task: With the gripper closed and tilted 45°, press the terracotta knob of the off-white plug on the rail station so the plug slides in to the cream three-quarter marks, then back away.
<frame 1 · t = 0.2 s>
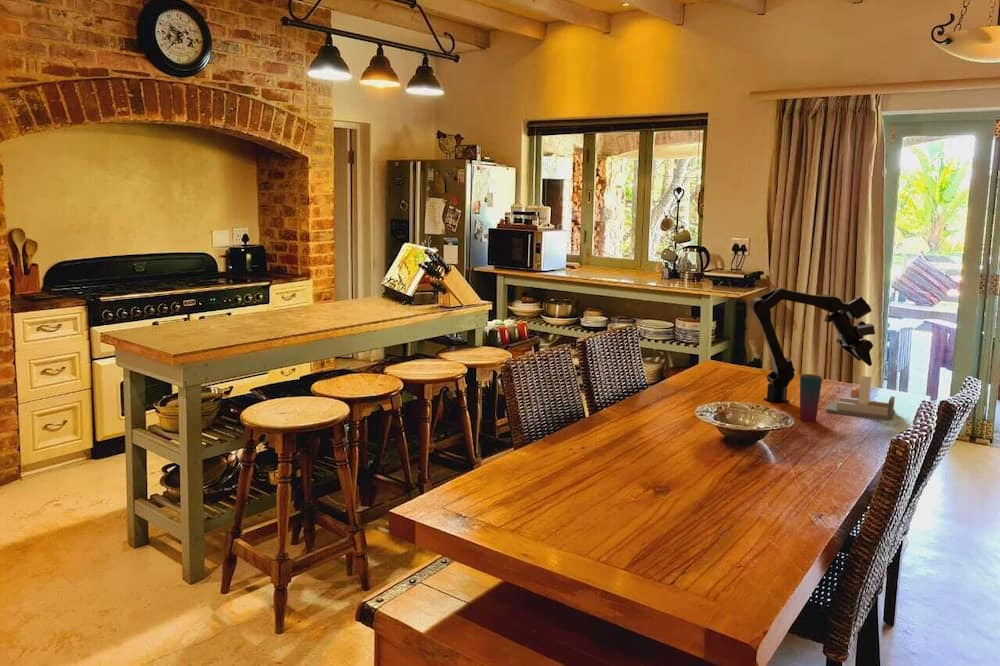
hand: (865, 362, 275), 15 cm above the table, tool tilted 35°, fingers open, 9 cm apart
cup: (807, 420, 255), on the table
plug: (860, 393, 264), point 7 cm above the table, slide at 0.0 cm
station: (860, 412, 265), on the table
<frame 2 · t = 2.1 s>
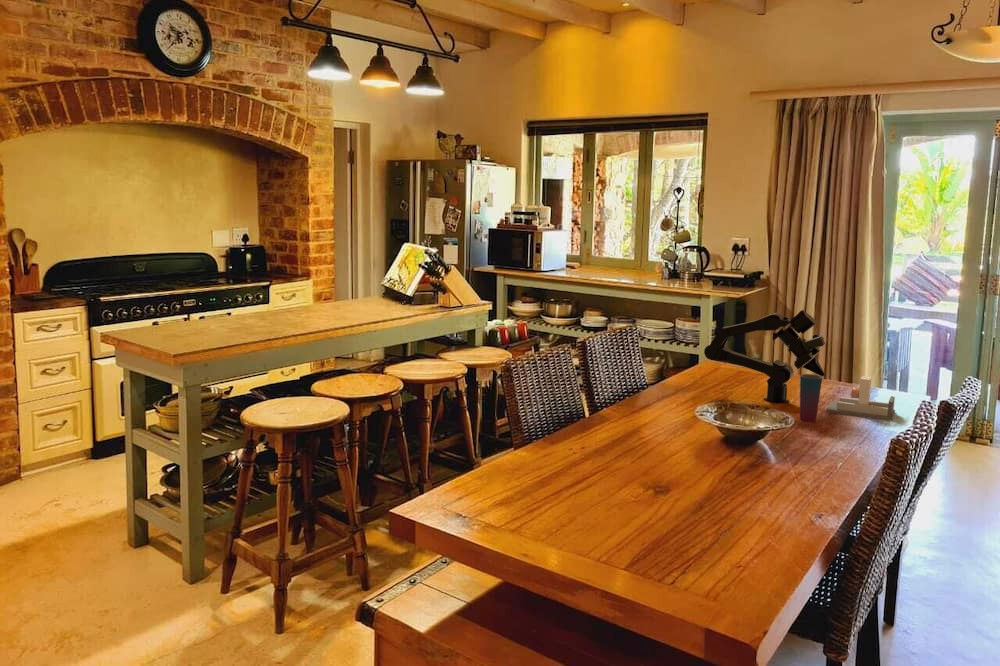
hand: (823, 375, 269), 11 cm above the table, tool tilted 45°, fingers closed
nothing on the table moved.
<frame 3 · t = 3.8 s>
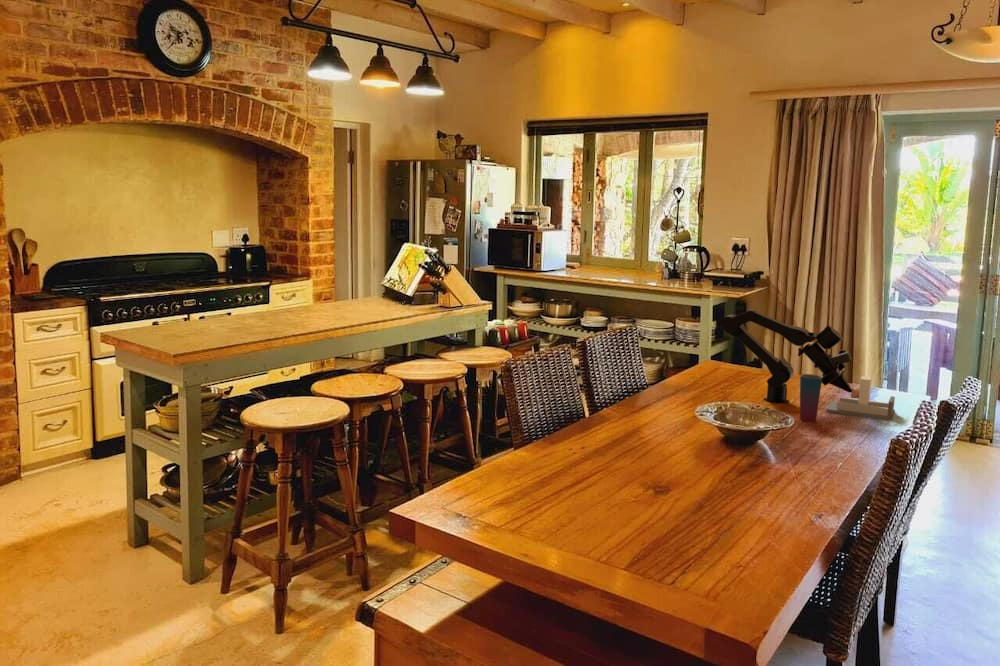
hand: (851, 391, 266), 7 cm above the table, tool tilted 45°, fingers closed, pressing on plug
plug: (860, 393, 264), point 7 cm above the table, slide at 0.0 cm, touching gripper
everything else where it was.
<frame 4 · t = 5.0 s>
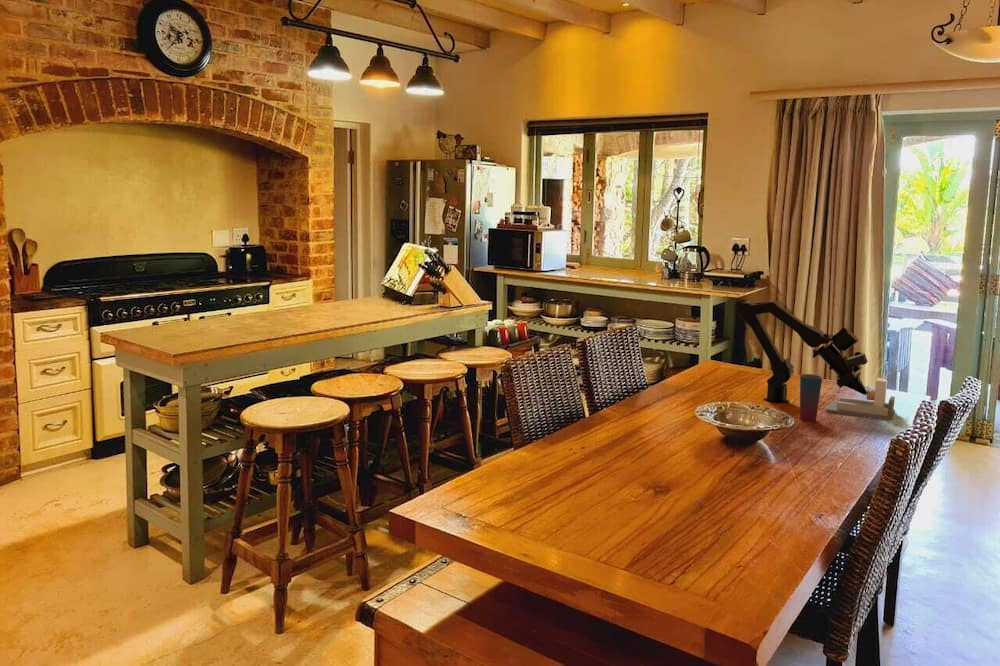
hand: (866, 394, 263), 7 cm above the table, tool tilted 45°, fingers closed, pressing on plug
plug: (876, 394, 261), point 7 cm above the table, slide at 4.9 cm, touching gripper
everything else where it was.
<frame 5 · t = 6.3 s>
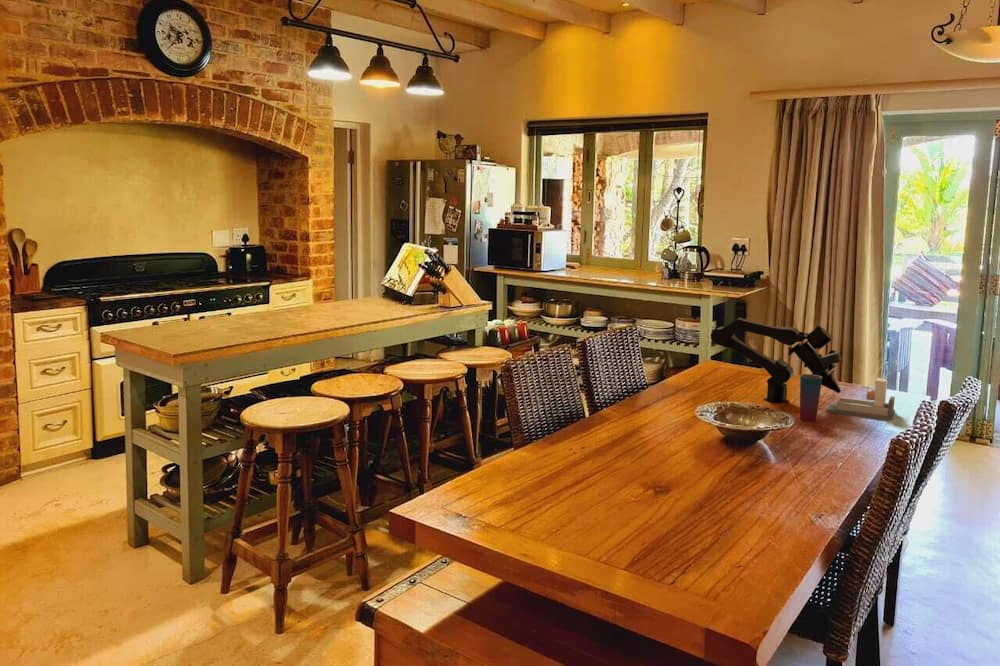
hand: (839, 391, 267), 6 cm above the table, tool tilted 45°, fingers closed
plug: (876, 394, 261), point 7 cm above the table, slide at 4.9 cm
everything else where it was.
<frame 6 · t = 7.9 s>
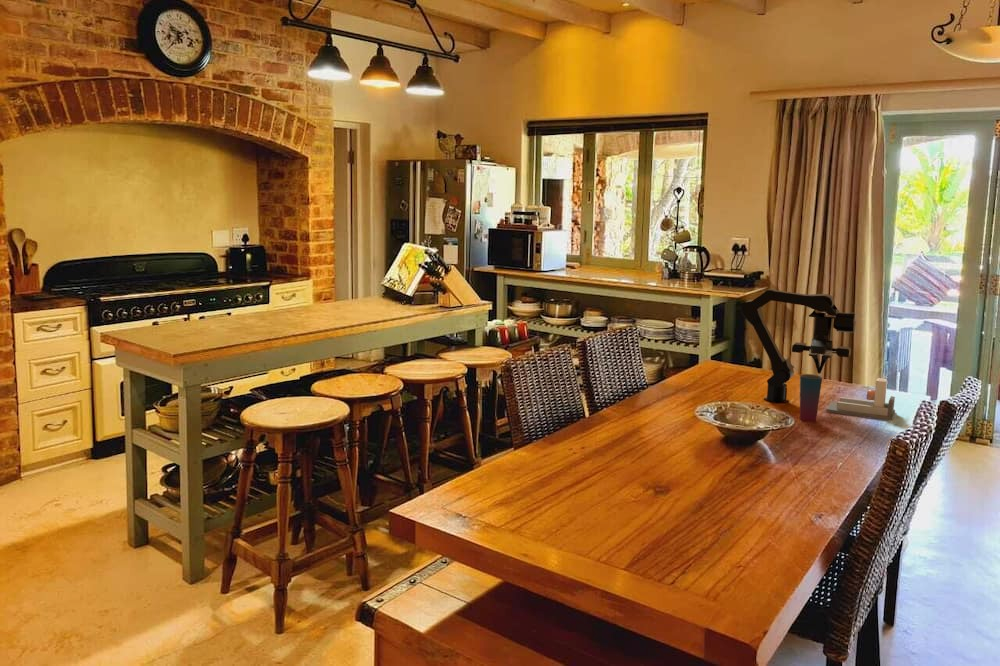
hand: (819, 373, 270), 12 cm above the table, tool pointing down, fingers closed
nothing on the table moved.
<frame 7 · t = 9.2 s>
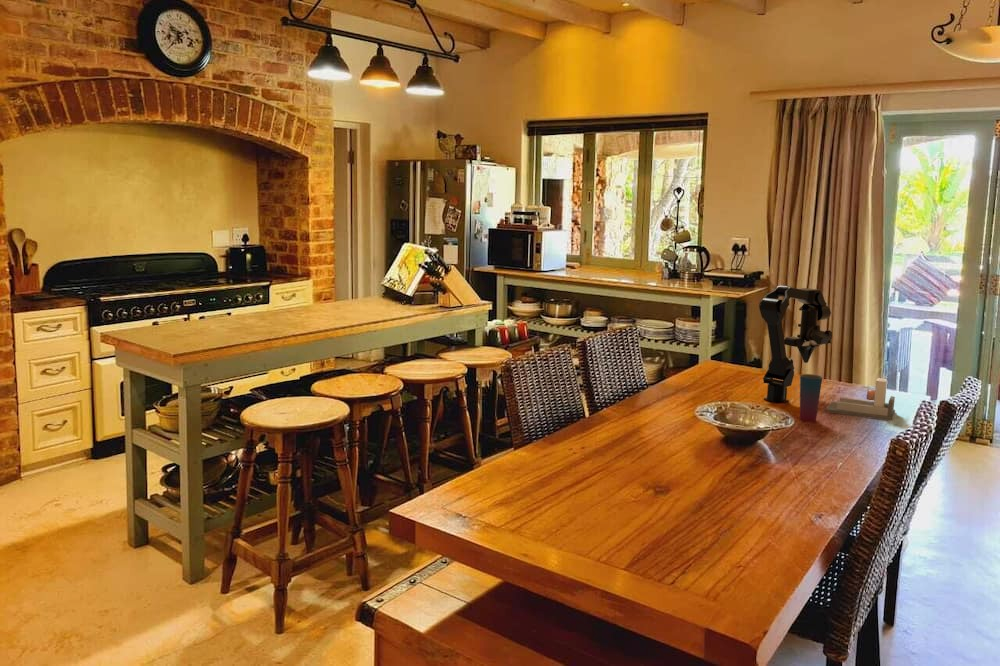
hand: (805, 362, 289), 12 cm above the table, tool pointing down, fingers closed
nothing on the table moved.
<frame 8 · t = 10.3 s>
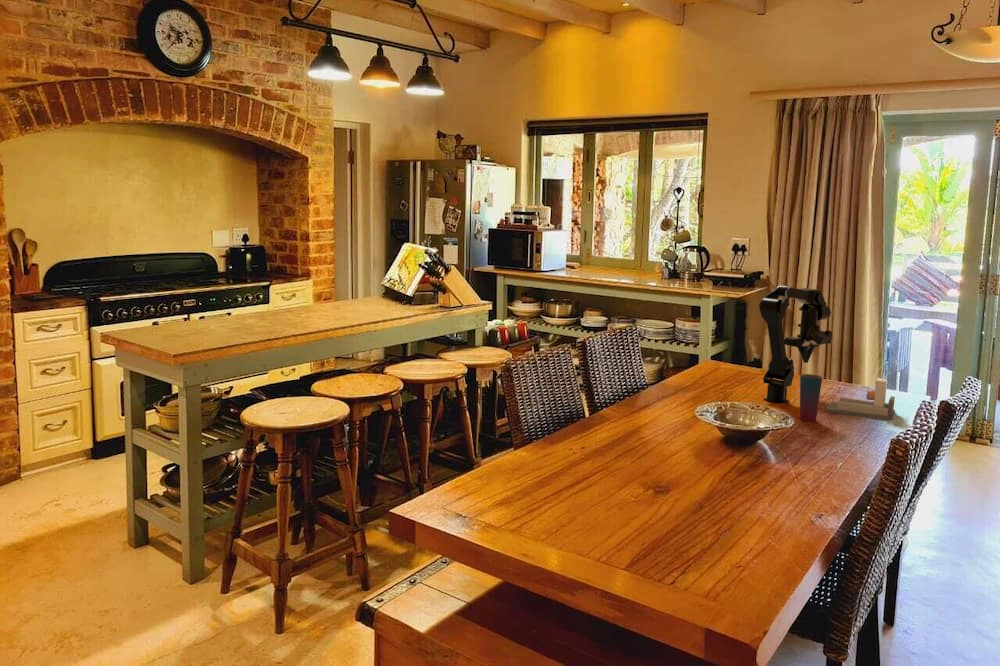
hand: (805, 362, 289), 12 cm above the table, tool pointing down, fingers closed
nothing on the table moved.
at the end: plug slide at 4.9 cm; cup moved 0.2 cm from its start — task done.
